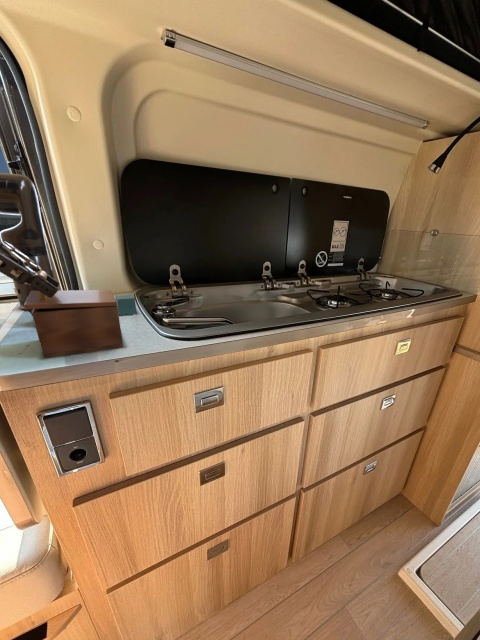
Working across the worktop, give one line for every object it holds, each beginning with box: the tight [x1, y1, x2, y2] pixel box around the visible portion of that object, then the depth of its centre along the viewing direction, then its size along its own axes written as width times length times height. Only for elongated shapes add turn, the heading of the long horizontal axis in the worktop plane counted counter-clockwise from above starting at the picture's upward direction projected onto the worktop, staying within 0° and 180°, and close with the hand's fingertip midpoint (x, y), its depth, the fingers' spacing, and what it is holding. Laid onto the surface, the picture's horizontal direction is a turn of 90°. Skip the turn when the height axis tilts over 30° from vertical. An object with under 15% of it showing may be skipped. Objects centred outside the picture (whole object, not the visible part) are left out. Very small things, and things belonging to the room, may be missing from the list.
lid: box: [24, 270, 117, 310], centre depth 57 cm, size 14×12×5 cm
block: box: [114, 294, 138, 316], centre depth 82 cm, size 4×4×4 cm
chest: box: [31, 306, 124, 359], centre depth 60 cm, size 14×12×9 cm
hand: (55, 290), depth 56 cm, fingers closed on lid, 5 cm apart
